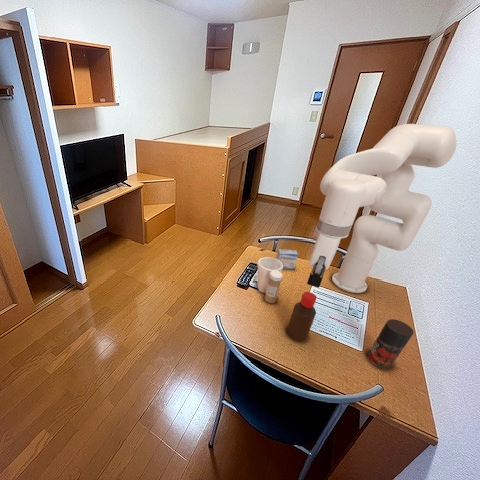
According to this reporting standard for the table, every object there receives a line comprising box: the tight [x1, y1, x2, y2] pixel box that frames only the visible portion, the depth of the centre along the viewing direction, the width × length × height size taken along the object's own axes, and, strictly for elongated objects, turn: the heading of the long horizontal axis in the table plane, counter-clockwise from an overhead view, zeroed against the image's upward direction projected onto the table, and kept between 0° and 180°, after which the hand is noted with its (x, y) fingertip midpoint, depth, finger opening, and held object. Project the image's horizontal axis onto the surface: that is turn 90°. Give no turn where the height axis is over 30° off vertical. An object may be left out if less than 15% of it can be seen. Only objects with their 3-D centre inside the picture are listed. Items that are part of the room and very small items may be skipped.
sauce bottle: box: [286, 301, 317, 343], centre depth 86 cm, size 6×6×18 cm
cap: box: [300, 291, 317, 308], centre depth 82 cm, size 4×4×3 cm
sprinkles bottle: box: [263, 271, 283, 304], centre depth 102 cm, size 5×5×13 cm
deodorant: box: [367, 318, 414, 370], centre depth 77 cm, size 6×6×15 cm
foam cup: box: [256, 256, 284, 294], centre depth 108 cm, size 10×9×13 cm
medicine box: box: [275, 248, 299, 270], centre depth 121 cm, size 8×4×9 cm, turn 81°
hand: (315, 279), depth 78 cm, fingers open, 5 cm apart
